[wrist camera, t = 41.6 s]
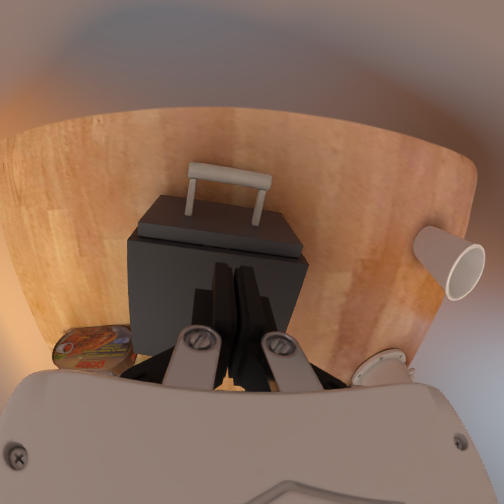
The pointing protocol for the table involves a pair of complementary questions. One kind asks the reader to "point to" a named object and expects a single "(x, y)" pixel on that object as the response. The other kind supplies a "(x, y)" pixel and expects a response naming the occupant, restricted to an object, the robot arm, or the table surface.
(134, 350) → the cabinet
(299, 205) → the table surface
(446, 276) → the dixie cup
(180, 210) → the drawer
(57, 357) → the tin
